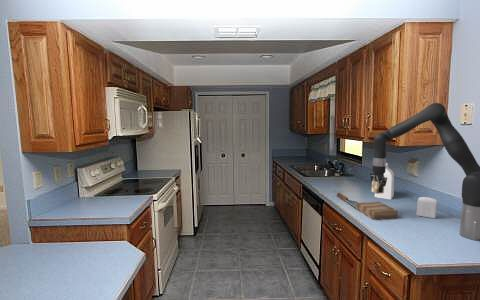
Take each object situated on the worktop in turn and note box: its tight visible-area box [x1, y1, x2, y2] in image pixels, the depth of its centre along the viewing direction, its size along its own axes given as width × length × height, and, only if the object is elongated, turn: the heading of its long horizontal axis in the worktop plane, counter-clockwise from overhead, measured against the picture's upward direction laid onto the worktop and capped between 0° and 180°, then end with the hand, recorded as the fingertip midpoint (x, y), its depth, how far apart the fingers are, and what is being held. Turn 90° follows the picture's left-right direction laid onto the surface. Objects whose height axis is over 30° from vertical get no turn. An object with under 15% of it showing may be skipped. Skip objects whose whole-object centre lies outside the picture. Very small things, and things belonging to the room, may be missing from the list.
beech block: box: [370, 181, 384, 194], centre depth 177 cm, size 5×5×7 cm
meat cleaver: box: [336, 192, 359, 210], centre depth 202 cm, size 34×11×4 cm, turn 4°
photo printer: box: [415, 196, 438, 219], centre depth 173 cm, size 10×4×12 cm, turn 60°
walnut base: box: [356, 201, 399, 221], centre depth 178 cm, size 18×16×5 cm
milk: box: [374, 162, 395, 200], centre depth 216 cm, size 12×12×26 cm
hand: (377, 190), depth 177 cm, fingers closed on beech block, 5 cm apart
